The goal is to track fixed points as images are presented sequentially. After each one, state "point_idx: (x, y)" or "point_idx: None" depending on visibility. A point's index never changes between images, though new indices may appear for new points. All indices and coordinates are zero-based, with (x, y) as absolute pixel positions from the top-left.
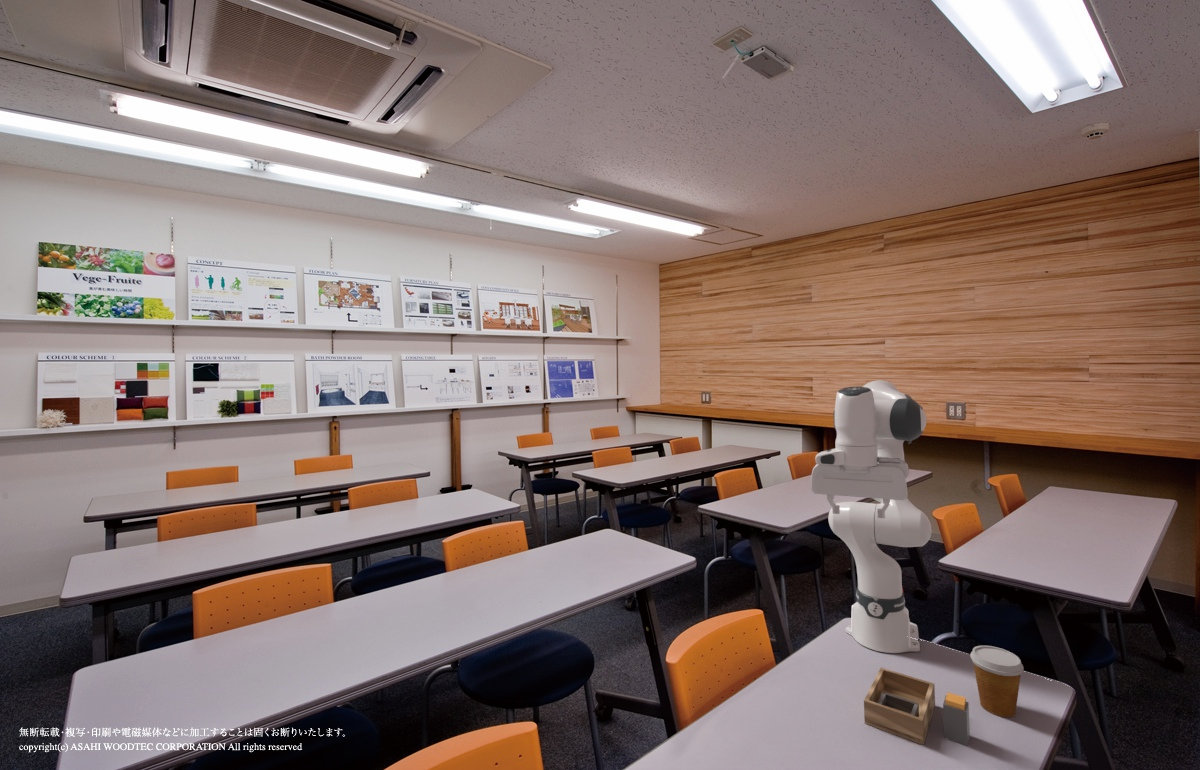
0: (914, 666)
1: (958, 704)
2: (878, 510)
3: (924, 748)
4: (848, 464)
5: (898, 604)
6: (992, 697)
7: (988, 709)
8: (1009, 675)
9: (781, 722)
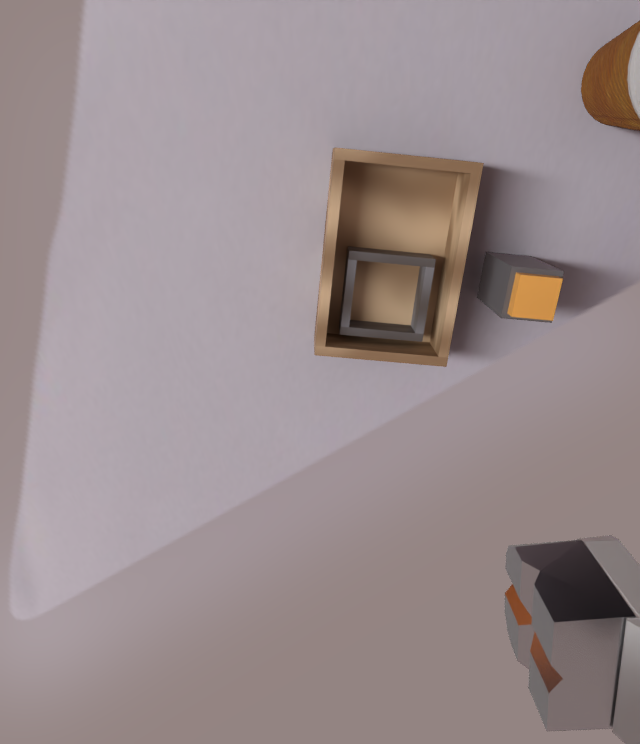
0: None
1: (539, 318)
2: (563, 725)
3: None
4: None
5: None
6: (626, 127)
7: (597, 118)
8: None
9: (153, 428)
